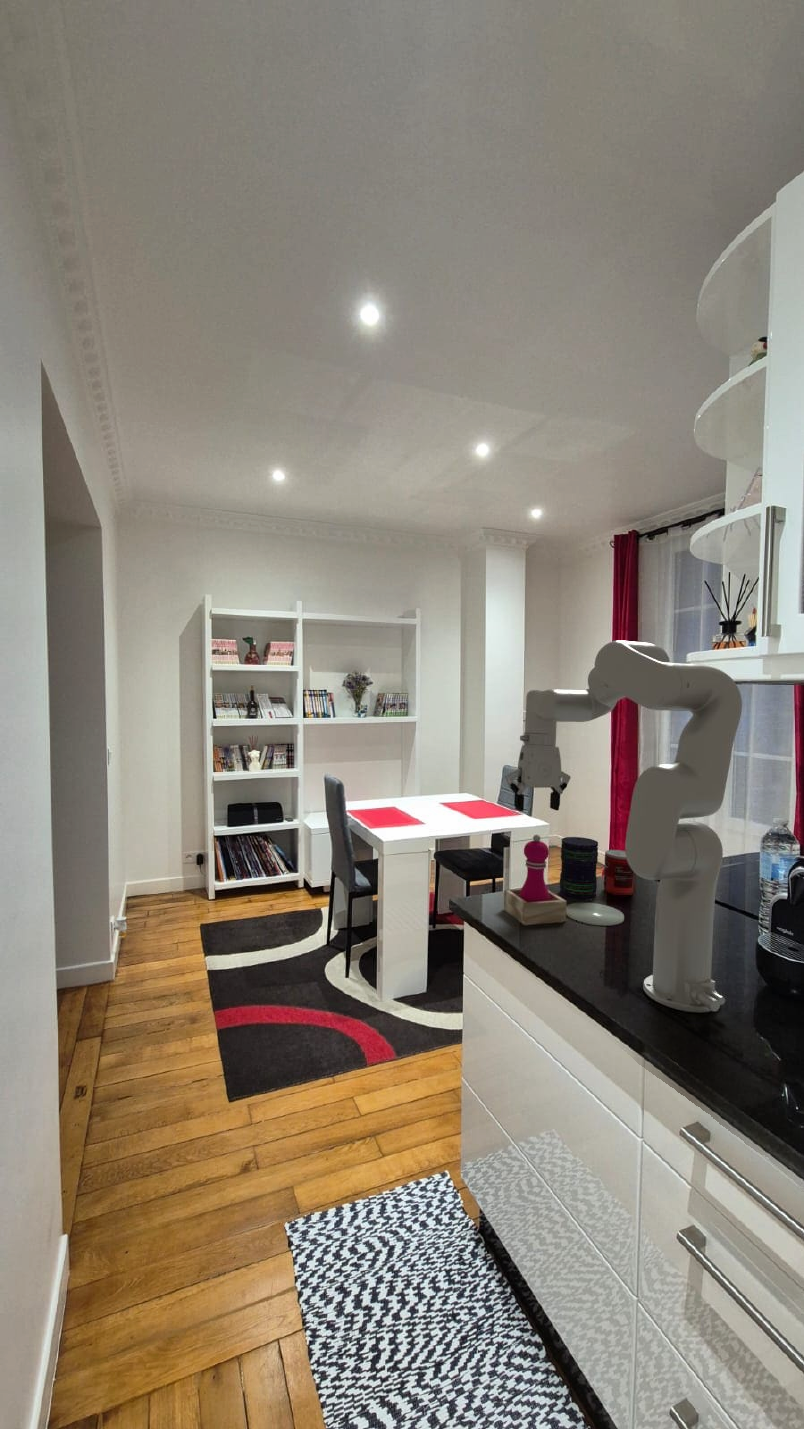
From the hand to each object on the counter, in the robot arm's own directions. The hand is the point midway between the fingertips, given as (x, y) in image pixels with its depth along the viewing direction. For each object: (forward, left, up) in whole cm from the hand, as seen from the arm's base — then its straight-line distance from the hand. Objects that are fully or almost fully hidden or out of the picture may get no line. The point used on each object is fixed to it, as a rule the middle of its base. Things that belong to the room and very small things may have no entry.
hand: (536, 809), depth 149 cm
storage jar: (+12, -20, -26) cm, 35 cm away
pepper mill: (0, 0, -26) cm, 26 cm away
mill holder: (0, 0, -26) cm, 26 cm away
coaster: (-3, -15, -26) cm, 30 cm away
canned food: (+12, -33, -26) cm, 44 cm away
